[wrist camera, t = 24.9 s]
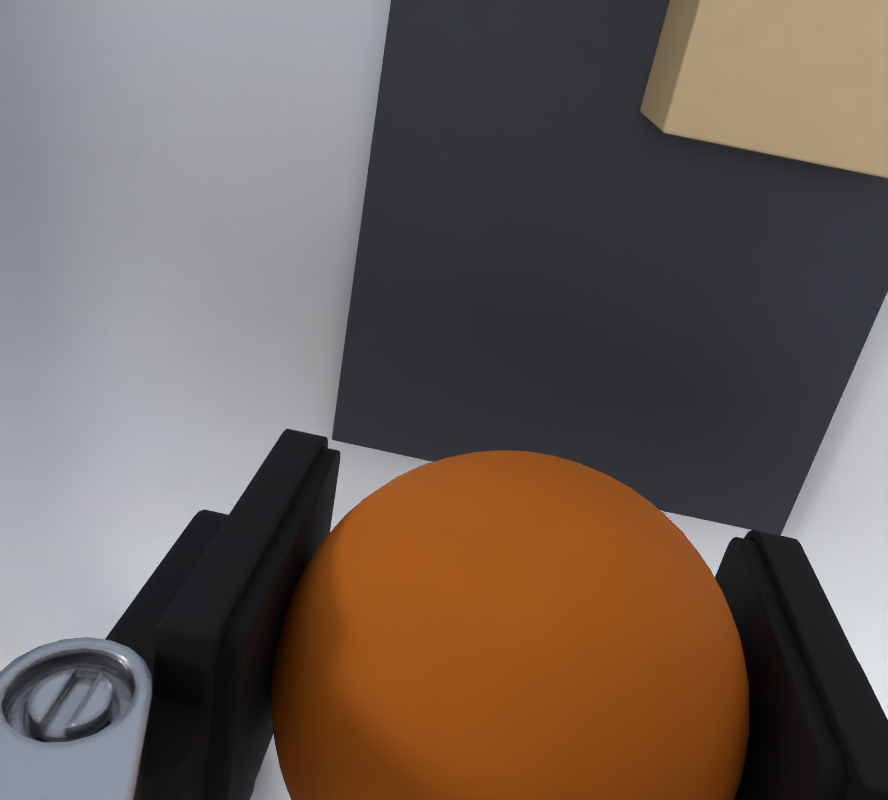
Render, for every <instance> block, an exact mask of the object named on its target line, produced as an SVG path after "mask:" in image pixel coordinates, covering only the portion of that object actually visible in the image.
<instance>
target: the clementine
mask: <svg viewBox="0 0 888 800" xmlns="http://www.w3.org/2000/svg"><path fill="white" fill-rule="evenodd" d="M271 710H272V726H273V733H274V740H275V746H276V751H277V755H278V760H279V765H280V769H281V772H282V775H283V778H284V782H285V785H286V788H287V790H288V793H289V795H290V798H291V800H734V798H735V796H736V793H737V790H738V788H739V785H740V782H741V778H742V772H743V767H744V762H745V756H746V750H747V744H748V738H749V682H748V676H747V670H746V665H745V659H744V654H743V650H742V645H741V640H740V636H739V633H738V630H737V627H736V625H735V622H734V619H733V616H732V614H731V611H730V608H729V606H728V604H727V601H726V599H725V597H724V594H723V592H722V590H721V588H720V586H719V585H718V583H717V581H716V579H715V578H714V576H713V574H712V572H711V570H710V569H709V567H708V566H707V564H706V563H705V561H704V560H703V558H702V557H701V556H700V554H699V553H698V551H697V550H696V549H695V548H694V546H693V545H692V544H691V542H690V541H689V540H688V539H687V537H686V536H685V535H684V533H683V532H682V531H681V530H680V529H679V528H678V527H677V526H676V525H675V524H674V523H673V522H672V521H671V520H669V519H668V518H667V517H666V516H665V515H664V514H663V513H662V512H661V511H660V510H659V509H658V508H657V507H655V506H654V505H653V504H652V503H651V502H649V501H648V500H647V499H645V498H644V497H643V496H641V495H640V494H638V493H637V492H636V491H634V490H633V489H632V488H630V487H628V486H627V485H625V484H623V483H621V482H619V481H618V480H616V479H614V478H612V477H610V476H609V475H607V474H604V473H602V472H599V471H597V470H594V469H592V468H590V467H587V466H585V465H582V464H580V463H577V462H574V461H571V460H567V459H563V458H560V457H556V456H553V455H547V454H541V453H534V452H528V451H509V450H496V451H483V452H473V453H468V454H463V455H458V456H453V457H449V458H444V459H441V460H438V461H435V462H432V463H429V464H426V465H423V466H420V467H418V468H415V469H413V470H411V471H409V472H407V473H405V474H403V475H401V476H399V477H397V478H395V479H393V480H392V481H390V482H389V483H387V484H386V485H384V486H383V487H381V488H380V489H378V490H377V491H375V492H374V493H372V494H371V495H369V496H368V497H366V498H365V499H363V500H362V501H361V502H360V503H359V504H358V505H357V506H356V507H354V508H353V509H352V510H351V511H350V512H349V513H348V514H346V515H345V516H344V518H343V519H342V520H341V521H340V522H339V523H338V524H337V525H336V527H335V528H334V529H333V530H332V531H331V532H330V534H329V535H328V536H327V537H326V538H325V539H324V541H323V542H322V543H321V544H320V545H319V547H318V548H317V550H316V551H315V553H314V555H313V556H312V558H311V560H310V561H309V563H308V565H307V566H306V568H305V570H304V572H303V573H302V575H301V577H300V579H299V580H298V582H297V584H296V586H295V588H294V591H293V594H292V597H291V600H290V602H289V605H288V608H287V611H286V614H285V617H284V621H283V624H282V628H281V632H280V636H279V639H278V643H277V649H276V654H275V659H274V665H273V670H272V683H271Z"/></svg>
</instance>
